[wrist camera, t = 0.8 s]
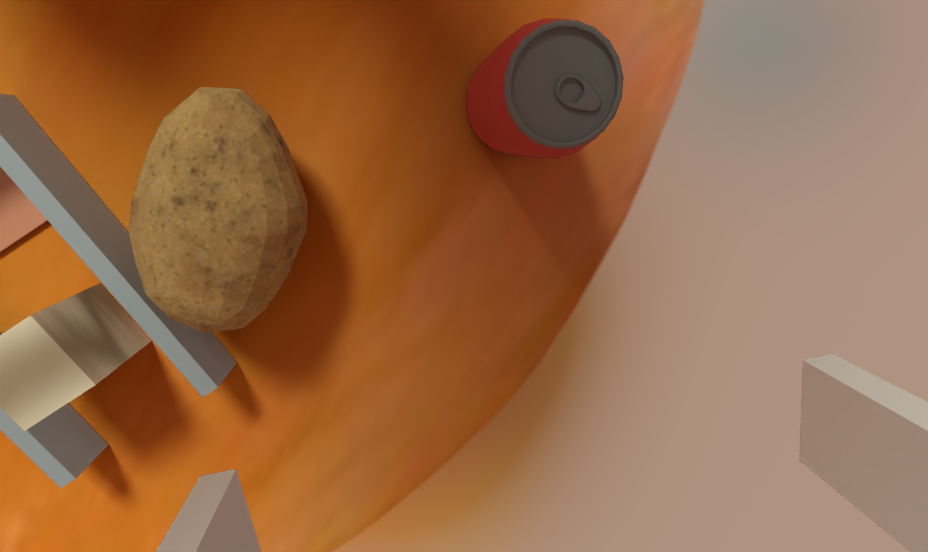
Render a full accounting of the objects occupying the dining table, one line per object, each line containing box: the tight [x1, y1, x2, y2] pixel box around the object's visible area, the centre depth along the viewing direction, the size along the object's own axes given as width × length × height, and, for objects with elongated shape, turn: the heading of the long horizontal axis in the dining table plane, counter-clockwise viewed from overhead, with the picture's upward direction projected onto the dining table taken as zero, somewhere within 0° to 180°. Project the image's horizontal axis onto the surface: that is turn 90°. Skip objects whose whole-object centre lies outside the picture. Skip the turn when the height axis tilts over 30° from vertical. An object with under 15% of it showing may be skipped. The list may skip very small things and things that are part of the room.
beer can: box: [466, 19, 623, 158], centre depth 30 cm, size 7×7×12 cm
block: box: [0, 283, 152, 431], centre depth 33 cm, size 5×5×7 cm
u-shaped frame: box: [0, 94, 237, 488], centre depth 34 cm, size 21×12×4 cm, turn 32°
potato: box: [129, 87, 308, 332], centre depth 32 cm, size 10×14×8 cm
